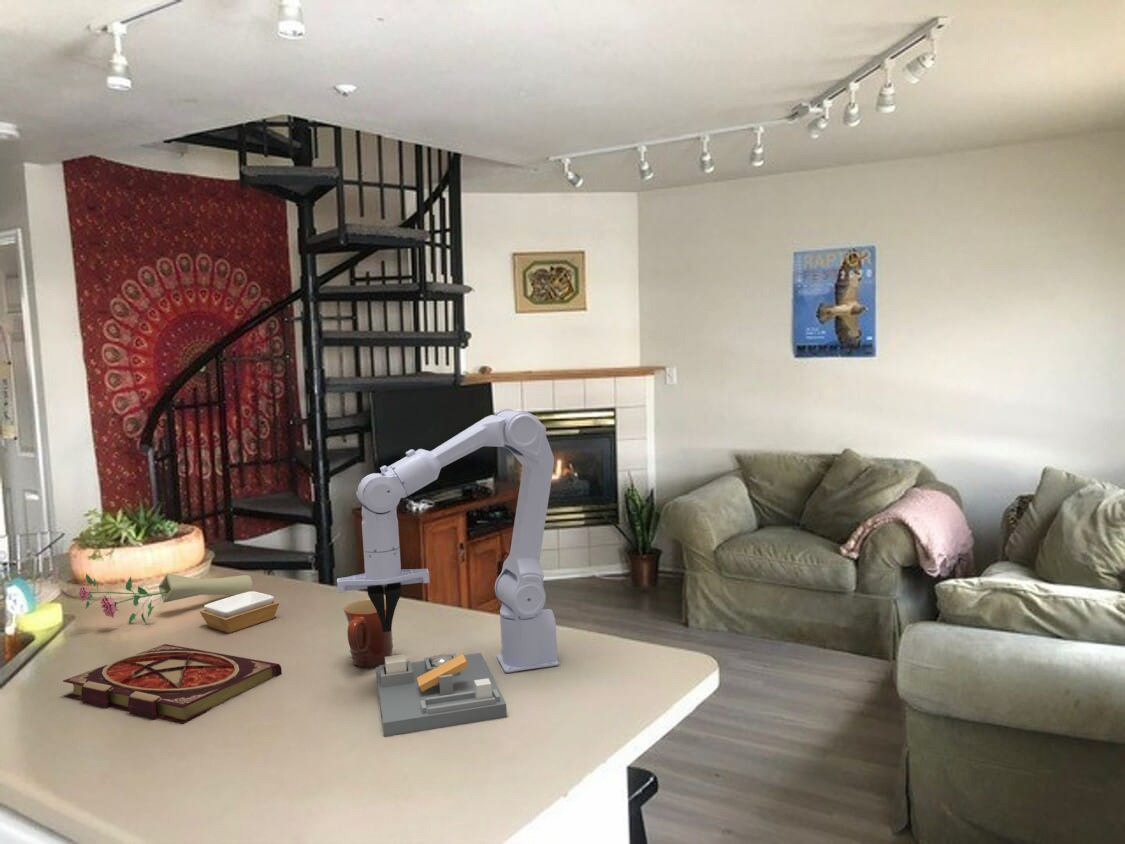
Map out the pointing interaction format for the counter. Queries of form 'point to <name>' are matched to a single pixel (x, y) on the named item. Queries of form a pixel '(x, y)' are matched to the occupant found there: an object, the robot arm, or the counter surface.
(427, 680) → the rocker
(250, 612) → the soap dish
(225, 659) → the book
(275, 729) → the counter surface
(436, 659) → the button round
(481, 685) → the slider knob
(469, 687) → the console
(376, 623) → the mug
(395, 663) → the button square
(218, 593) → the flower vase
